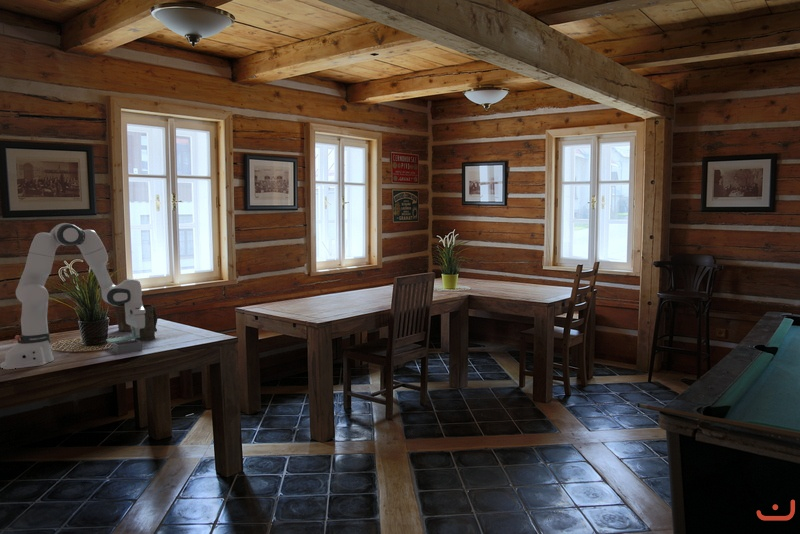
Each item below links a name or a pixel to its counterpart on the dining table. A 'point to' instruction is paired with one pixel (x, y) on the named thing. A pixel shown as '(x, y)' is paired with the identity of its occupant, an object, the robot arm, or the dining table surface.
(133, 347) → the tub
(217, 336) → the dining table surface
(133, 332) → the lid
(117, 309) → the plant pot
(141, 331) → the beer stein
